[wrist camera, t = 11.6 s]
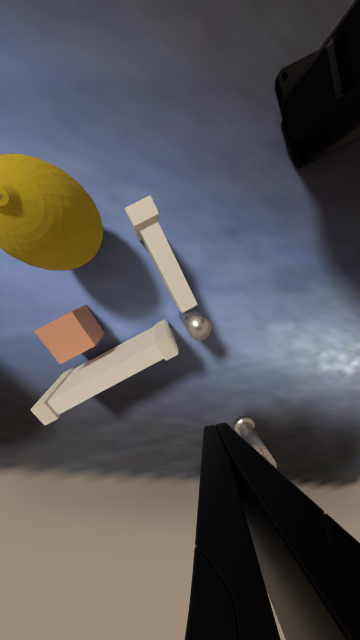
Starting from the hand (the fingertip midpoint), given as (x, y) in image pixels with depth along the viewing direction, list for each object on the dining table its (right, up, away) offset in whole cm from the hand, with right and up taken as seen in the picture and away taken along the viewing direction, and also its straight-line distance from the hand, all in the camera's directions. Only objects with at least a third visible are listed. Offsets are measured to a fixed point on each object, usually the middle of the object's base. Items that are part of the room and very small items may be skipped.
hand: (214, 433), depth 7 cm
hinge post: (-1, +5, +11) cm, 12 cm away
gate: (-7, +1, +10) cm, 12 cm away
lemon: (-10, +11, +8) cm, 17 cm away
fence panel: (-3, +9, +9) cm, 13 cm away
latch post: (+6, -8, +15) cm, 18 cm away
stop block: (-10, +4, +10) cm, 14 cm away
